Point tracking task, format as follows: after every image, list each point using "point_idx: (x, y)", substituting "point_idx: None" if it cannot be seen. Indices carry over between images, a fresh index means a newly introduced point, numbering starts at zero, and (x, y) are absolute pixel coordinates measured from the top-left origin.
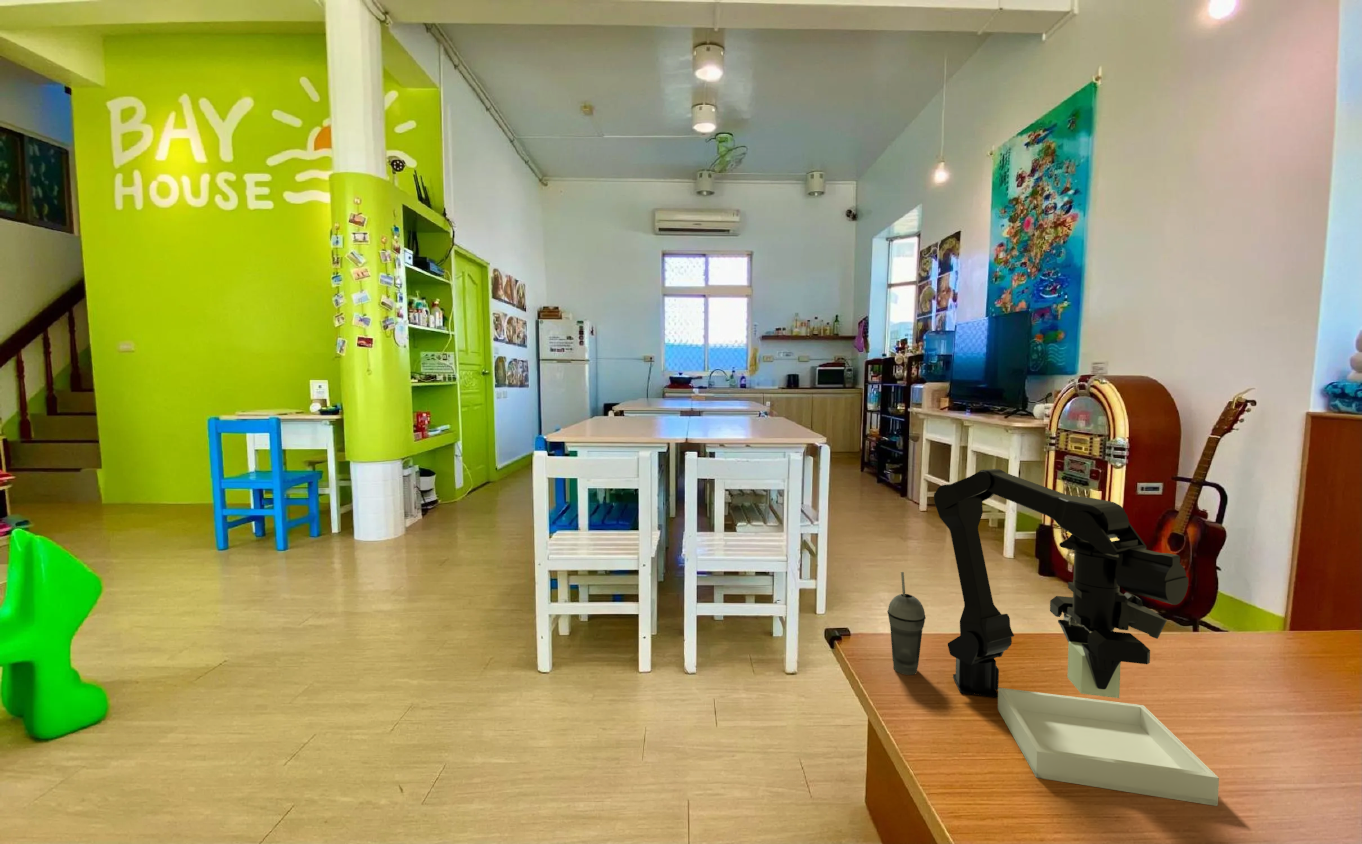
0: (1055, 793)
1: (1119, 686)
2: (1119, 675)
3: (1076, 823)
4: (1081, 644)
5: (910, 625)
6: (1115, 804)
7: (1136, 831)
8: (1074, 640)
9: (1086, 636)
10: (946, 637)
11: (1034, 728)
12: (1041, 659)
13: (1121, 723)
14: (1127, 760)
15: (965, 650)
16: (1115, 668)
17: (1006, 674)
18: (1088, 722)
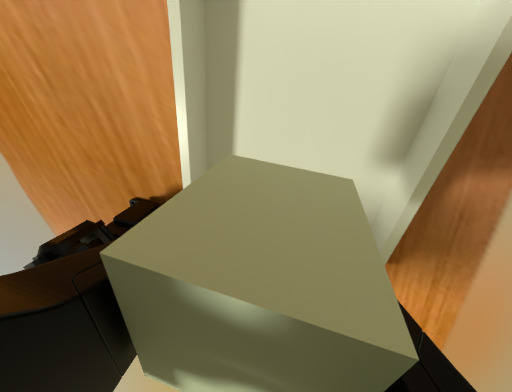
0: (393, 260)
1: (360, 203)
2: (374, 242)
3: (456, 272)
4: (157, 358)
5: None
6: (433, 201)
7: (501, 211)
8: (122, 357)
9: (64, 363)
10: (31, 190)
11: None
12: (5, 60)
13: (205, 32)
14: (338, 111)
15: None
16: (457, 375)
17: (98, 159)
18: (218, 110)
